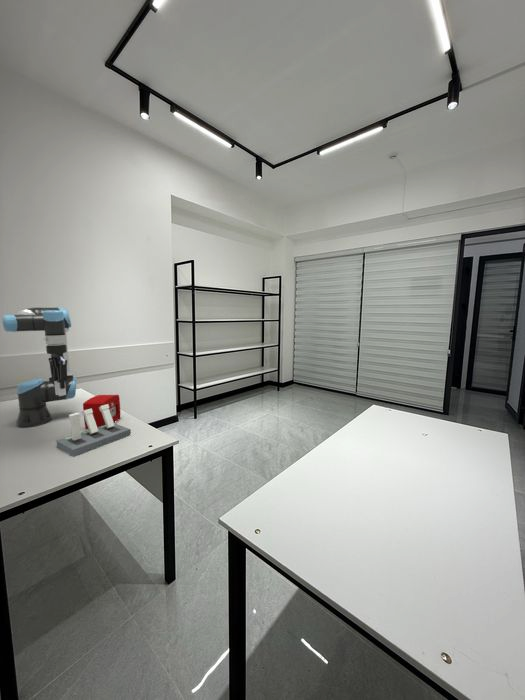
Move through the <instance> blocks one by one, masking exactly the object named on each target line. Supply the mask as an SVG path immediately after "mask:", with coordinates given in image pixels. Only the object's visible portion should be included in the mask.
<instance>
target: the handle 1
mask: <svg viewBox="0 0 525 700" xmlns="http://www.w3.org/2000/svg"><path fill="white" fill-rule="evenodd" d="M92 413H93V411H92V408H91V409H87V410H84V411H83V410H82V411H81V415H82V416H83V418H84V417H85V420H86V423H87V426H88V429H87V430H89V432H90V434H93V433H96V432H98V428H97V425H96V422H95V420H94V417H93V414H92Z"/></svg>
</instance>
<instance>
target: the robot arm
mask: <svg viewBox="0 0 525 700" xmlns="http://www.w3.org/2000/svg"><path fill="white" fill-rule="evenodd" d="M71 321H72V320H71V317H70V314H69V310H68V309H66V308H65V307H58V306H57V307H28V308H24V309H21V310H18V311H17V312H16V313H15V314H4V315H3V316H2V327H3V329H4V331H5V332H15V333H17V332H41V331H42V332H44V336H45V337H44V338H43V340H44V341H45V344H46V346H45V350H46V354H48V355H49V356H50V357H48V359H47V361H48V363H49V369H50V374H51V375H49V376H48V380H46V381H45V379H43V378H35V379H32V380H31V379H30V380H27V381H24V382H20V383H19V384H18V385H17V393H16V394H17V396H18V407H19V408H18V409H19V412H18V415H17V419H16V427H18V426H21V427H20V428H30V427H31V428H32V427H38V426H41V425H44V424H47V423H49V422H50V421H52V414H51V412H50V410H49V409H48V405H47V403H50V402H56V401H65V400H69V399H74V398H75V397H76V393H77V392H76V390H77V377H74V375H73V374H72V373H71V372H70V363H69V362H70V361H69V360H70V359H69V351H68V350H69V349H68V339H67V333H68V331H70V328H71V327H72V322H71Z"/></svg>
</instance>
